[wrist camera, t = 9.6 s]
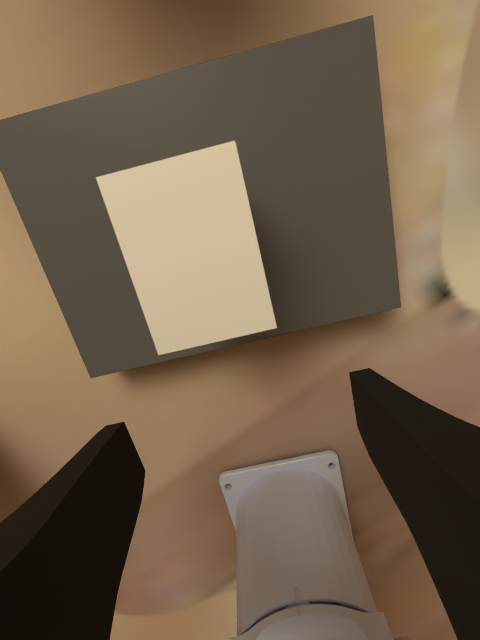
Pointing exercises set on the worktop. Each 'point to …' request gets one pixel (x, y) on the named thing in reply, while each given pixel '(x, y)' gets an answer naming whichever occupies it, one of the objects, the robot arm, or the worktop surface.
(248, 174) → the socket block
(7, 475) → the worktop surface
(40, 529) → the robot arm
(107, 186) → the plug
